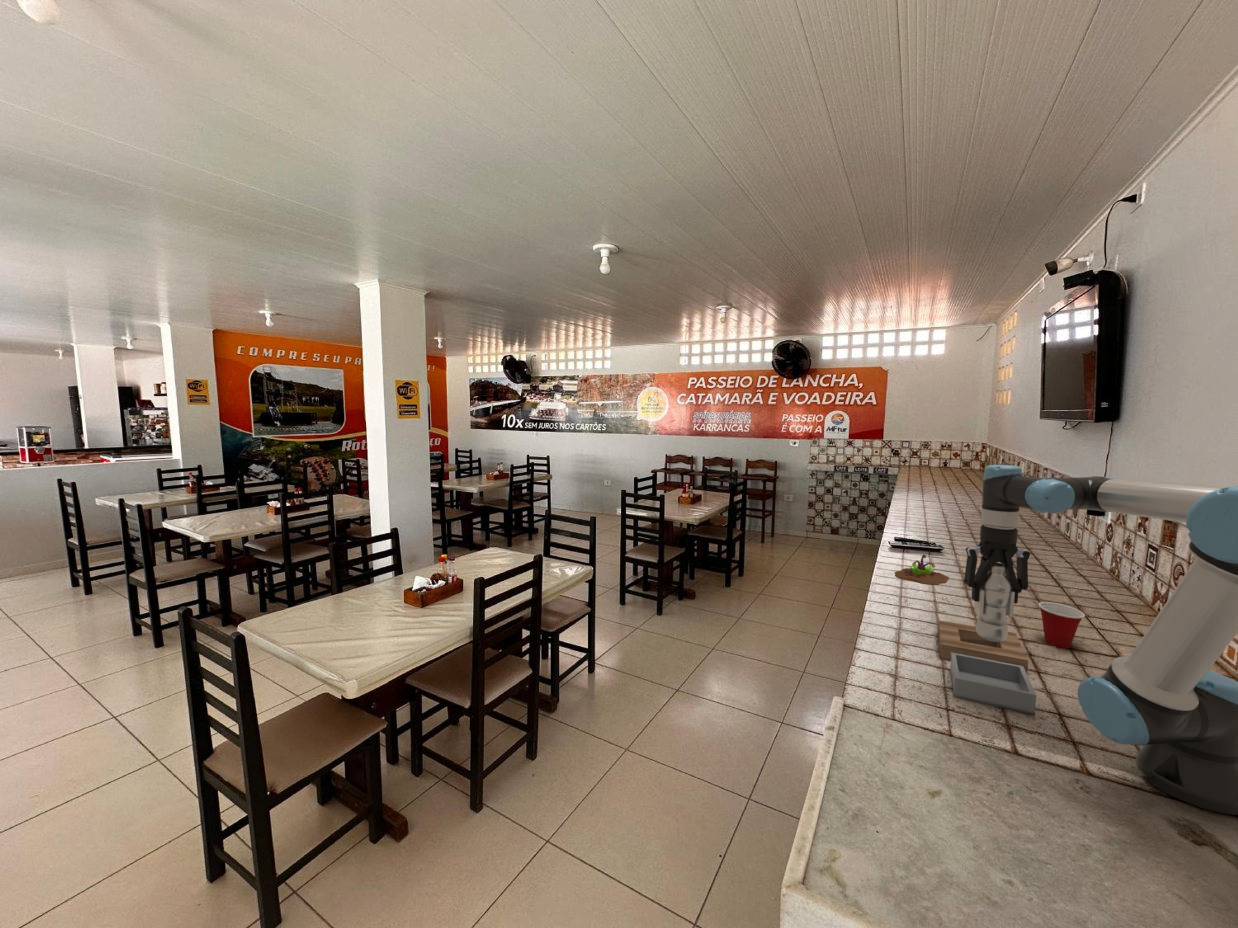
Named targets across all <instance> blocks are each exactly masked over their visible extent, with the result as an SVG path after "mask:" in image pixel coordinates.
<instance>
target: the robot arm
mask: <svg viewBox="0 0 1238 928" xmlns="http://www.w3.org/2000/svg"><path fill="white" fill-rule="evenodd" d="M983 473H984V474H983V479H982V495H981V496H982V499H981V516H980V522H981V525H980V528H979V529H980V531H979V540H980V541H979V544H978V545H977V546H975V547H969V546H967V547H966V548H965V552H966V555H967V556H966V564H965V570H964V578H963V584H965V585H966V586H968V587H969V588H971V599H972V601H974V609H973V611H974V613H976V614H977V615H978V616H979V615H983V606H984V590H982V589H981V588H982V585H983V583H984V581H985V579H986V576H987V574H988V572H989V570H990V567H991V566H993V564H994V563H1001V564H1004V565H1005V570H1006V573H1004V575H1005V576H1006V577H1007V579H1008V580H1009V581H1010V583H1011V587H1012V588H1011V592H1010V596H1009V599H1008V605H1007V612H1006V615H1007V616H1008V617H1009V618H1014V610H1015V609H1014V608H1015V604H1018V602H1019V601H1018V600H1019V594H1020V593H1022V591H1023V590H1026V591H1027V590H1028V589H1029V588H1028V587H1029V574H1028V573H1029V569H1028V568H1029V567H1028V565H1029V564H1028V562H1029V558H1030V556H1031V552H1030V551H1028V550H1026V549H1023V548H1018V545H1017V543H1018V533H1019V530H1018V529H1017V527H1019V519H1020V518H1019V517H1020V508H1022V509H1023V508H1024V509H1028V510H1033V511H1037V512H1039V513H1042V514H1043V513H1044V514H1055V515H1056V514H1057V515H1058V514H1063V513H1065V512H1066V511H1072V510H1073V511H1075V510H1085V511H1087V510H1089V511H1099V512H1106V513H1113V514H1115V513H1116V514H1122V515H1129V516H1135V517H1143V518H1151V519H1157V520H1164V521H1171V522H1179V523H1185V524H1186V525H1185V528H1186V529H1188V530H1189V532H1188V533H1187V535H1188V537H1189V539H1190V543H1189V544H1188V551H1189V552H1190V553H1191V554H1192V556H1193V558H1194V561H1193V562H1192V563H1191V565H1190V566H1189V568H1188V569H1187V571H1186V572H1185V574H1184V575H1183V577H1182V578H1181V580H1180V581H1179V583H1178V584H1177V586H1176V587H1175V588H1174V590H1173V592H1172V593H1171V595H1170V596H1169V598H1168V599H1167V601H1166V602H1165V604H1163V606H1162V608H1161V610H1160V611H1159V612H1158V614H1157V615H1156V617H1155V618H1154V620H1153V621H1152V623H1151V624H1150V626H1149V627H1148V629H1147V630H1146V632H1145V633H1144V635H1143V636H1142V638H1141V639H1140V641H1139V642H1138V644H1137V645H1136V646H1135V648H1134V650H1133V651H1132V653H1131V654H1130V656H1128V655H1126V656H1118V657H1116V658H1115V659H1114V660H1112V661H1111V663H1110V665H1109V666H1108V668H1107V669H1106V671H1105V673H1104V674H1103V675H1101V676H1090V677H1088V678H1084V679H1083V680H1082V681H1081V682H1080V683H1079V685H1078V688H1077V699H1078V702H1079V705H1080V706H1081V708H1082V709H1081V710H1082V713H1083V714H1084V715H1085V717H1086V719H1087V720H1088V722H1089V723H1090V724H1091V725H1092V727H1094V728H1095V729H1096V730H1097V732H1098V733H1100V734H1101V735H1103V736H1104V737H1106V738H1107V739H1108V740H1111V741H1112V742H1114V743H1118V744H1120V745H1125V746H1126V745H1127V746H1128V745H1130V746H1137V747H1138V746H1139V747H1141V748H1140V749H1139V750H1138V752H1137V754H1136V765H1137V767H1138V769H1139V770H1140V771H1141V773H1143V774H1144V775H1142V777H1143V778H1144V779H1145V780H1146V781H1148V782H1149V783H1150V784H1152V785H1153V786H1155V787H1156V788H1158V789H1160V790H1161V791H1162V792H1164V793H1167V794H1168V795H1170V796H1172V797H1174V798H1176V799H1179V800H1181V801H1183V802H1185V803H1188V804H1191V805H1194V806H1196V807H1198V808H1202V809H1206V810H1209V811H1211V812H1215V813H1220V814H1226V815H1233V816H1238V681H1236V680H1234V679H1232V678H1230V677H1227V676H1226V675H1224V674H1220V673H1219V672H1218V673H1217V672H1215V671H1212V670H1210V669H1211V668H1212V667H1213V665H1214V664H1215V662H1216V661H1217V660H1218V659H1219V658H1220V656H1221V655H1222V654H1223V653H1224V651H1225V650H1226V649H1227V647H1228V646H1229V645H1230V644H1231V642H1232V641H1233V640H1234V638H1236V636H1237V635H1238V485H1235V486H1227V487H1226V486H1218V485H1217V486H1215V485H1202V484H1188V483H1175V482H1160V481H1149V480H1148V481H1145V480H1133V479H1122V478H1121V479H1120V478H1114V477H1110V476H1098V475H1097V476H1095V475H1094V476H1081V477H1034V476H1026V475H1023V469H1022V467H1021V466H1020V465H1019V466H1018V465H1008V464H989V465H987V466H986V467H985V468H984V472H983ZM979 553H980V554H981V555H982V556H981V558H980V563H979V566H978V568H977V564H978V556H979ZM1014 556H1015V557H1016V563H1015V564H1016V572H1015V569H1014V563H1013V557H1014Z"/></svg>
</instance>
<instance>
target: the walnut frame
mask: <svg viewBox="0 0 1238 928" xmlns="http://www.w3.org/2000/svg"><path fill="white" fill-rule="evenodd" d="M937 624H938V625H937V637H938V646H939V647H938V648H939V654H940V655H939V656H940V660H947V661H950V662H951V652H952V653H957V654H962V655H967V656H973V657H978V658H983V659H988V660H993V661H999V662H1004V663H1009V664H1014V665H1019V666H1023V667H1024V669H1025V671H1026V673H1027V674H1028V669H1029V659H1028V657H1027V655H1026V652H1025V650H1024V648H1023V646H1022V644H1021V642H1020V640H1019V638H1018V636H1017V634H1016V632H1011V631H1008V635H1007V638H1006V639H1005V640H1004V641H1003V642H993V641H989V640H985V639H983V638H981V637H979V636H978V634H977V632H976V625H970V624H963V623H958V622H952V621H945V620H941V619H938V623H937Z"/></svg>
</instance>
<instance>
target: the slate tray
mask: <svg viewBox="0 0 1238 928" xmlns="http://www.w3.org/2000/svg"><path fill="white" fill-rule="evenodd" d="M949 669H950V670H949V671H950V678H951V684H952V691H953V697H955V698H958V699H962V700H967V701H972V702H976V703H979V704H980V703H981V704H985V705H989V706H992V707H997V708H1002V709H1005V710H1011V711H1015V712H1019V713H1023V714H1027V715H1033V716H1035V715H1036V704H1037V703H1036V702H1037V701H1036V700H1037V694H1036V692H1035V689H1034V687H1033V685H1032V683H1031V680H1030V678H1029V675H1028V672H1027V673H1026V671H1025V669H1024V667H1023V666H1019V665H1014V664H1009V663H1004V662H999V661H993V660H988V659H983V658H978V657H973V656H967V655H962V654H957V653H952V652H951V661H950V668H949Z"/></svg>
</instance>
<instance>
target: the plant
mask: <svg viewBox="0 0 1238 928" xmlns="http://www.w3.org/2000/svg"><path fill="white" fill-rule="evenodd" d="M926 558H927V555H926V554H922V555H921V558H920V561H919V560H914V562H912V564H911V566H909V567H907V568H902V569H901V570H896V571H894V577H896V579H897V578H898V579H900V580H905V581H909V582H914V583H918V584H921V585H928V586H939V585H941V584H946V583H948V582H949V579H950V577H949V576H948V575H945V574H943V573H941V572H935V569H932V568H935V567H936V564H934V563H933V562H927V563H925V562H924V559H926Z"/></svg>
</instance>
